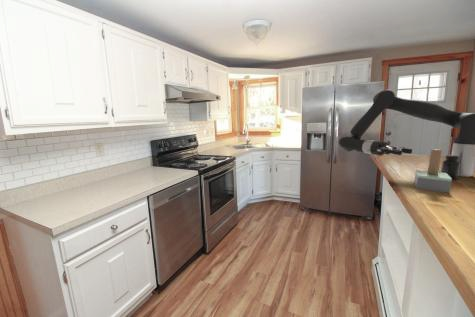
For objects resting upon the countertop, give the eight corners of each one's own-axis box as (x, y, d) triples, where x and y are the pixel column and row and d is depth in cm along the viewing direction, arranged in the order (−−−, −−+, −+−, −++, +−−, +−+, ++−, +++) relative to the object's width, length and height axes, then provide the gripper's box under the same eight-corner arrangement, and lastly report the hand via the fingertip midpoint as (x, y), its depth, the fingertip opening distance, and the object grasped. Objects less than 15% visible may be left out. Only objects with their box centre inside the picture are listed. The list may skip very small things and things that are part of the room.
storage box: (413, 184, 111) (415, 172, 110) (443, 187, 105) (446, 175, 104) (416, 190, 102) (417, 177, 101) (449, 195, 96) (451, 181, 95)
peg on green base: (415, 174, 110) (419, 147, 107) (445, 177, 104) (450, 148, 102) (417, 179, 101) (421, 150, 98) (451, 183, 95) (456, 152, 92)
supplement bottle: (461, 180, 116) (465, 157, 114) (445, 179, 117) (449, 156, 115) (451, 176, 123) (455, 154, 120) (436, 176, 124) (440, 154, 122)
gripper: (366, 141, 121) (399, 145, 106) (382, 140, 127) (416, 143, 113) (364, 155, 122) (397, 161, 108) (381, 153, 128) (413, 158, 114)
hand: (406, 152), depth 110 cm, fingers open, 8 cm apart
